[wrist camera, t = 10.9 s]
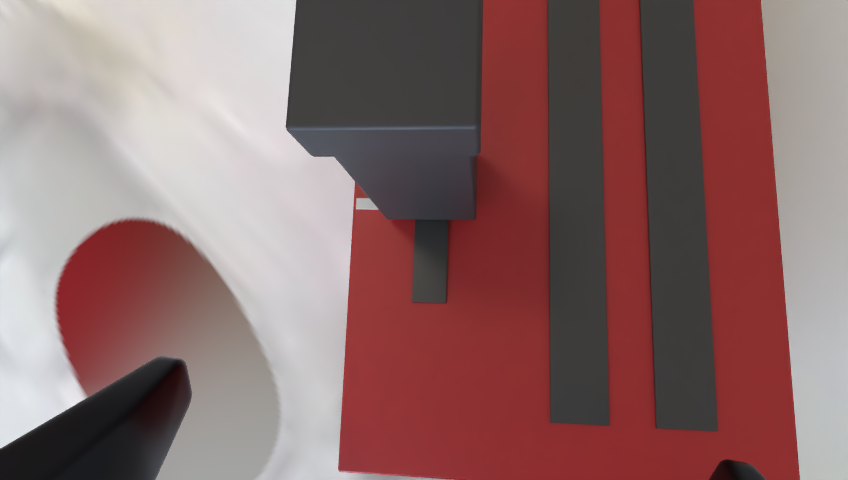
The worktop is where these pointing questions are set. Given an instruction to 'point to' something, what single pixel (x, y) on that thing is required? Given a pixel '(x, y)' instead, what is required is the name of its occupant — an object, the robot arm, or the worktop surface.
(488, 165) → the toaster
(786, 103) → the worktop surface
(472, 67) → the slider
